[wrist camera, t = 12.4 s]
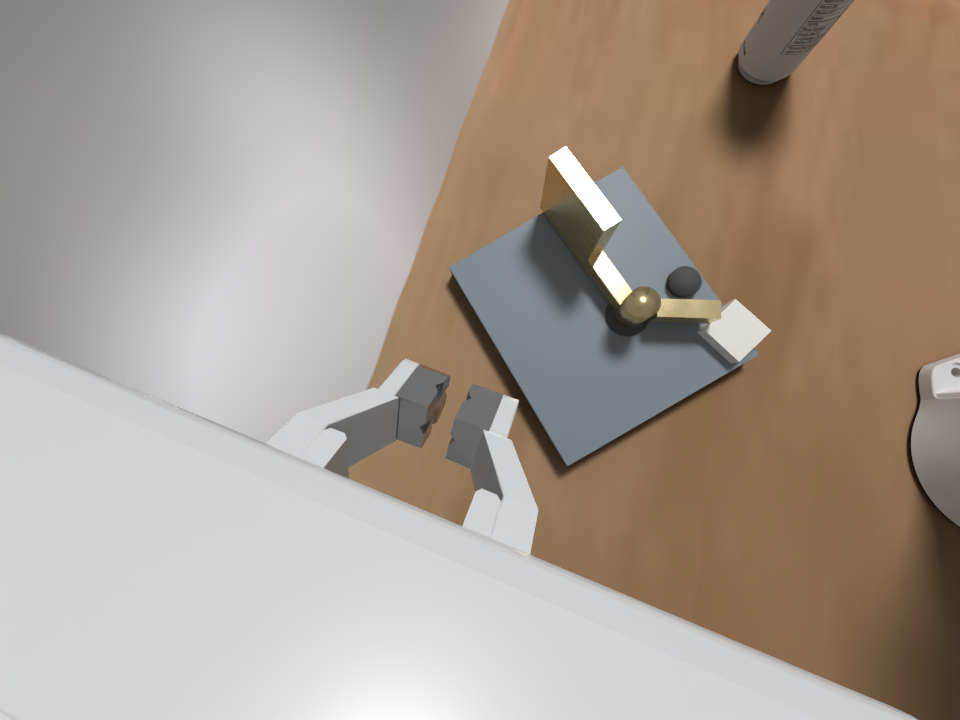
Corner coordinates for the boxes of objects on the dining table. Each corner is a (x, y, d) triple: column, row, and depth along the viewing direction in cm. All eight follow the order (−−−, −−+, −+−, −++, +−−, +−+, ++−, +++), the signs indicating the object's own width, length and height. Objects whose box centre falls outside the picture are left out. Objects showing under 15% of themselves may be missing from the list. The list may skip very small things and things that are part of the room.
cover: (727, 302, 33) (735, 298, 32) (761, 333, 32) (771, 330, 31) (696, 332, 33) (703, 329, 32) (730, 363, 32) (739, 361, 31)
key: (713, 316, 33) (770, 289, 26) (668, 366, 32) (714, 354, 25) (555, 191, 35) (568, 136, 28) (512, 236, 35) (514, 192, 28)
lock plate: (616, 179, 38) (623, 166, 35) (744, 357, 34) (759, 354, 32) (452, 274, 37) (449, 266, 35) (564, 463, 34) (567, 466, 32)
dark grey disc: (685, 264, 34) (690, 260, 33) (703, 288, 33) (708, 285, 33) (660, 278, 34) (663, 275, 33) (677, 303, 33) (681, 300, 33)
